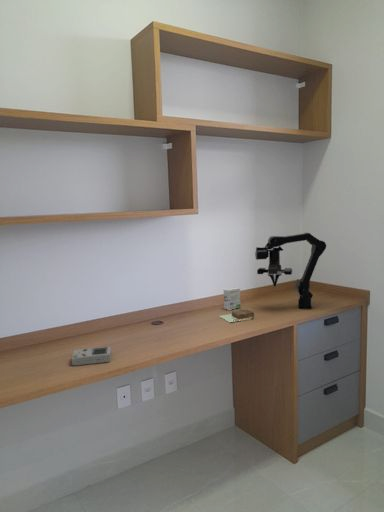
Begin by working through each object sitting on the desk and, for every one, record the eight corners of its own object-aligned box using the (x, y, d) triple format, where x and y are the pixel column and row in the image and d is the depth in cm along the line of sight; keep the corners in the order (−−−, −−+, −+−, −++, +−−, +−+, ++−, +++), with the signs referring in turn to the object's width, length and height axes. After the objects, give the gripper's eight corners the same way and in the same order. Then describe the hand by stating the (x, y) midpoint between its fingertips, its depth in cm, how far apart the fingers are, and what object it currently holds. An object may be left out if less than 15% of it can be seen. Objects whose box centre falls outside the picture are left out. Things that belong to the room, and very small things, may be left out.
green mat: (242, 313, 210) (242, 312, 210) (254, 319, 197) (254, 318, 197) (218, 316, 206) (218, 315, 206) (230, 323, 193) (230, 322, 193)
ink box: (235, 306, 225) (235, 287, 224) (240, 308, 221) (240, 288, 219) (223, 309, 221) (223, 289, 219) (229, 310, 216) (228, 290, 215)
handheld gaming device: (74, 358, 155) (73, 349, 155) (111, 354, 157) (110, 345, 157) (71, 367, 146) (70, 358, 146) (110, 363, 149) (109, 353, 148)
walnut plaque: (246, 309, 208) (231, 311, 205) (253, 312, 200) (238, 314, 197) (246, 313, 208) (231, 315, 205) (254, 317, 200) (238, 319, 197)
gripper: (255, 260, 208) (255, 288, 210) (290, 260, 202) (290, 289, 204) (258, 258, 219) (259, 284, 221) (292, 258, 212) (292, 285, 214)
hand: (274, 286), depth 215 cm, fingers closed
